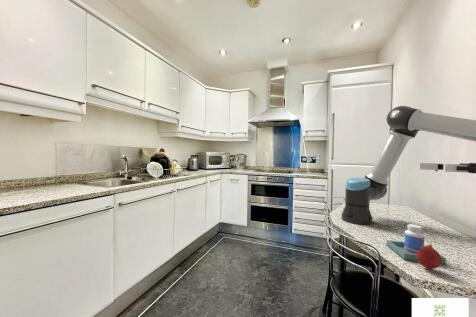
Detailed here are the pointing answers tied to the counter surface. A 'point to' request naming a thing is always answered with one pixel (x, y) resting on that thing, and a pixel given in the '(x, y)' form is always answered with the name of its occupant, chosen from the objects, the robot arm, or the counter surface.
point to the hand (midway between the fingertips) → (430, 166)
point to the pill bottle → (413, 239)
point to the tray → (399, 249)
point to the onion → (429, 257)
